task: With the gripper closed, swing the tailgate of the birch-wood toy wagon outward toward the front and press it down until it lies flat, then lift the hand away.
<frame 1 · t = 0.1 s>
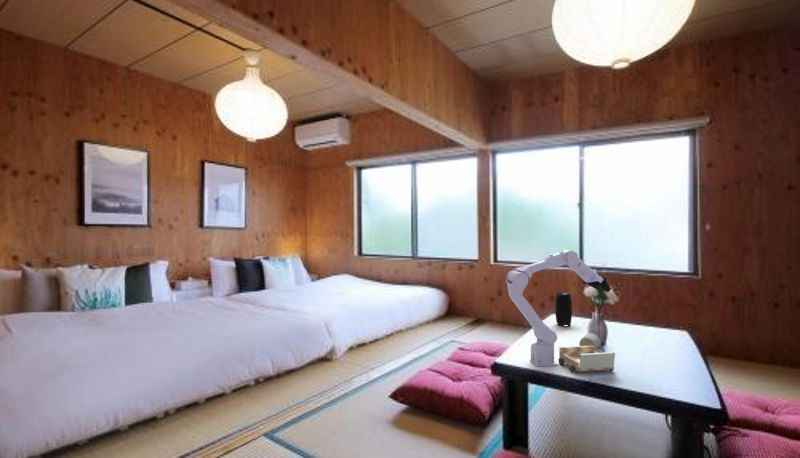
hand: (603, 289, 182), 32 cm above the table, tool tilted 50°, fingers open, 7 cm apart
wagon: (585, 367, 173), on the table
ceramic mug: (592, 351, 195), on the table
tailgate: (597, 360, 165), point 6 cm above the table, hinge at 8.0°
portable speaker: (563, 325, 244), on the table
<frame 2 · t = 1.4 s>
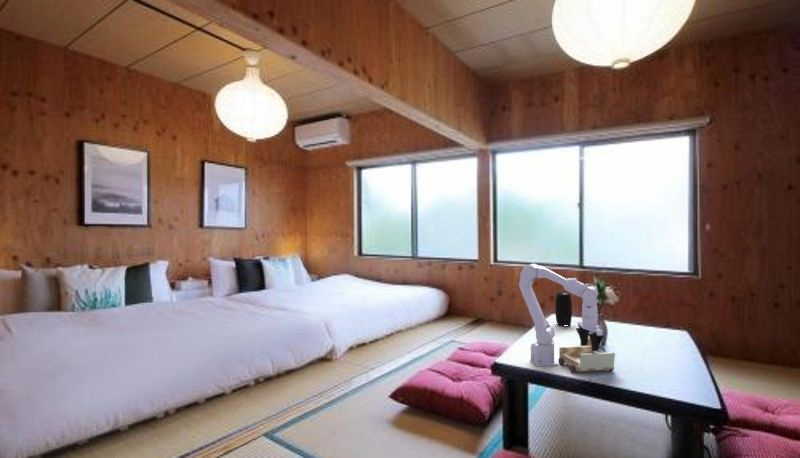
hand: (589, 348, 170), 9 cm above the table, tool pointing down, fingers open, 7 cm apart
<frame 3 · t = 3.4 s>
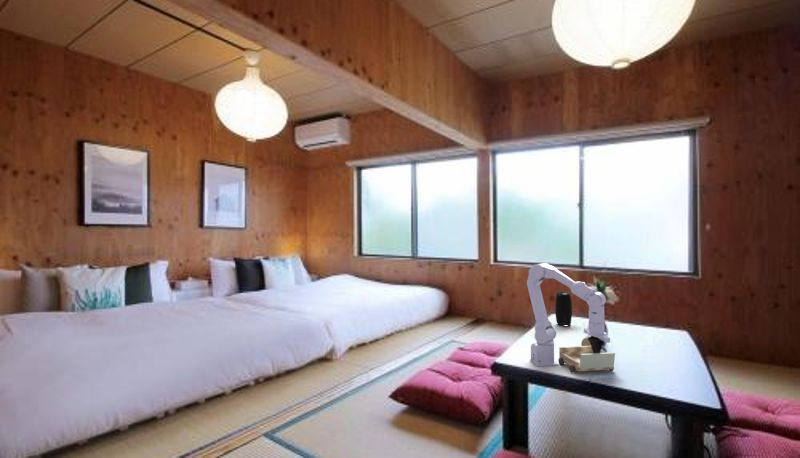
hand: (596, 355, 165), 8 cm above the table, tool pointing down, fingers closed, pressing on tailgate
tailgate: (597, 360, 165), point 6 cm above the table, hinge at 8.3°, touching gripper
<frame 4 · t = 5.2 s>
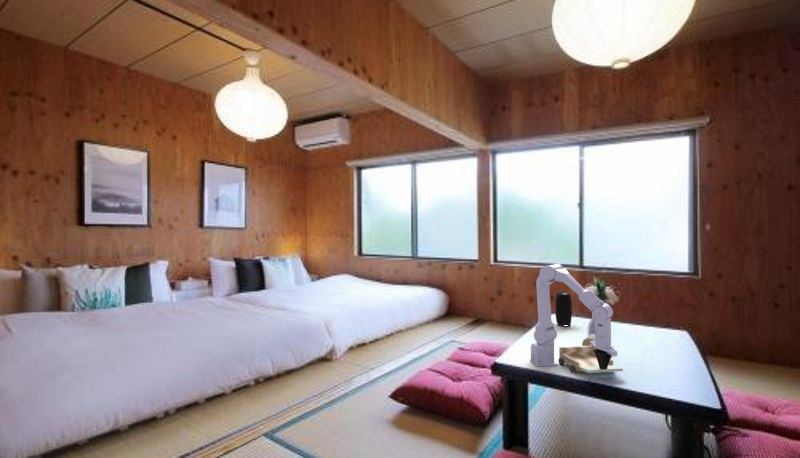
hand: (603, 368, 161), 4 cm above the table, tool pointing down, fingers closed, pressing on tailgate
tailgate: (601, 369, 162), point 3 cm above the table, hinge at 82.7°, touching gripper
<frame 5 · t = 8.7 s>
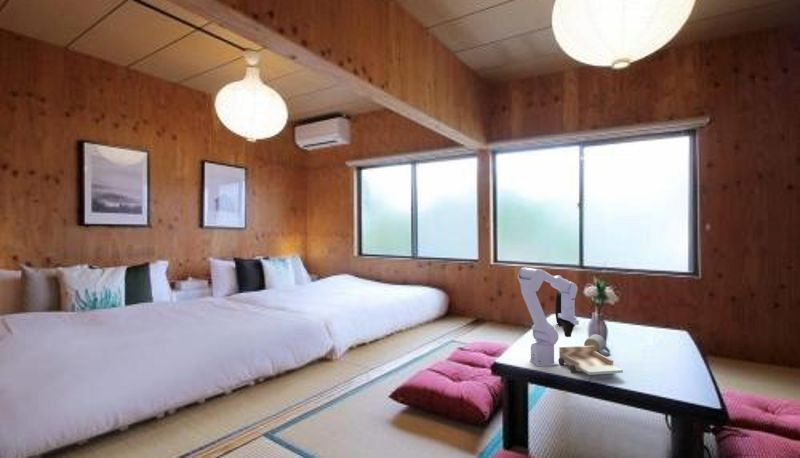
hand: (567, 336, 187), 9 cm above the table, tool pointing down, fingers closed
tailgate: (601, 369, 162), point 3 cm above the table, hinge at 88.7°
at the end: tailgate at +89° (first picture: +8°) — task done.
